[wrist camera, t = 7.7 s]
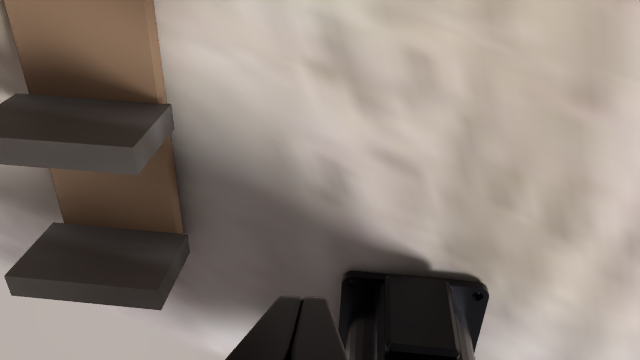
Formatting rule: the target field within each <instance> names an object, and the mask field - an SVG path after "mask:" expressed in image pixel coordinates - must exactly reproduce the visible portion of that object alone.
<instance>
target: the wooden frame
mask: <svg viewBox="0 0 640 360" xmlns="http://www.w3.org/2000/svg"><path fill="white" fill-rule="evenodd" d="M4 3H5V7H6V10H7V14H8V18H9V21H10V25H11V29H12V33H13V36H14V40H15V44H16V47H17V51H18V55H19V58H20V62H21V66H22V69H23V73H24V77H25V80H26V84H27V88H28V91H29V94H15V95H13V96H12V97H10V98H9V99H7V100H5V101H4V102H2V103H1V104H0V164H5V165H17V166H30V167H42V168H49V169H50V172H51V176H52V180H53V183H54V187H55V191H56V194H57V198H58V202H59V205H60V209H61V213H62V216H63V220H64V223H53V224H52V225H51V226H50V227H49V228H48V229H47V230H46V231H45V232H44V233H43V234H42V235H41V237H40V238H39V239H38V240H37V241H36V242H35V243H34V244H33V245H32V246H31V247H30V249H29V250H28V251H27V252H26V253H25V254H24V255H23V256H22V257H21V258H20V259H19V260H18V262H17V263H16V264H15V265H14V266H13V267H12V268H11V269H10V270H9V271H8V272H7V274H6V275H5V279H6V282H7V284H8V287H9V290H10V293H11V295H12V296H24V297H33V298H43V299H53V300H63V301H73V302H83V303H93V304H103V305H114V306H124V307H134V308H144V309H154V310H161V309H162V307H163V305H164V303H165V301H166V299H167V297H168V295H169V293H170V291H171V289H172V287H173V285H174V283H175V281H176V279H177V277H178V275H179V273H180V271H181V269H182V267H183V265H184V263H185V261H186V259H187V257H188V255H189V253H190V251H189V243H188V235H187V234H184V233H183V226H182V218H181V210H180V203H179V195H178V187H177V179H176V172H175V164H174V156H173V148H172V141H171V132H172V131H173V130H174V123H173V115H172V107H171V104H167V102H166V94H165V86H164V79H163V71H162V63H161V55H160V48H159V40H158V32H157V24H156V17H155V9H154V1H153V0H4Z"/></svg>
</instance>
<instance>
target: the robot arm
mask: <svg viewBox="0 0 640 360" xmlns="http://www.w3.org/2000/svg"><path fill="white" fill-rule="evenodd" d="M350 281H356V282H357V283H350ZM476 292H479V293H480V294H477V295H474V293H476ZM488 299H489V293H488V289H487V287H486V285H485V284H483V283H480V282H473V281H462V280H451V279H440V278H429V277H418V276H407V275H396V274H385V273H374V272H363V271H349V272H346V273H345V274H344V275H343V278H342V290H341V305H340V319H339V332H338V329H337V326H336V323H335V320H334V317H333V314H332V311H331V308H330V306H329V303H328V300H327V299H326V298H325V297H312V296H307V297H305V298H304V299H303V298H302V297H301V296H280V297H279V298H278V299H277V300H276V301H275V302H274V304H273V305H272V306H271V307H270V308H269V309H268V310H267V312H266V313H265V314H264V315H263V316H262V317H261V319H260V320H259V321H258V322H257V323H256V324H255V326H254V327H253V328H252V329H251V330H250V331H249V333H248V334H247V335H246V336H245V337H244V338H243V340H242V341H241V342H240V343H239V344H238V345H237V347H236V348H235V349H234V350H233V351H232V352H231V353H230V355H229V356H228V357H227V358H226V359H225V360H475V357H474V352H475V348H476V344H477V340H478V337H479V333H480V329H481V325H482V322H483V318H484V314H485V310H486V307H487V303H488Z"/></svg>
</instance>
